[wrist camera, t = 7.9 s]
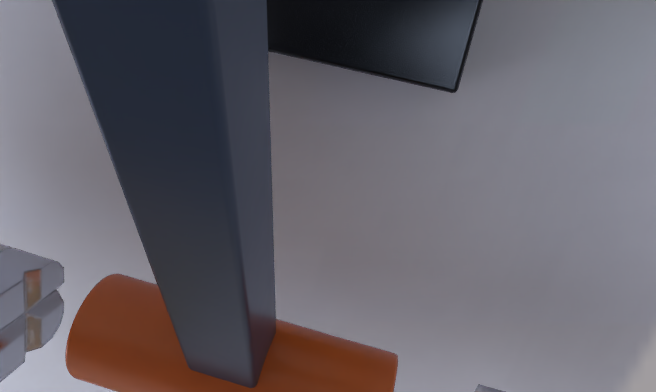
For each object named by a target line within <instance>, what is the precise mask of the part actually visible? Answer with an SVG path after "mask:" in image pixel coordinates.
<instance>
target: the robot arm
mask: <svg viewBox="0 0 656 392" xmlns="http://www.w3.org/2000/svg"><path fill="white" fill-rule="evenodd" d="M63 283H64V267H63V266H62V265H61V264H60V263H59V262H57V261H54V260H51V259H48V258H45V257H42V256H38V255H35V254H32V253H29V252H26V251H23V250H19V249H16V248H12V247H10V246H6V245H3V244H0V382H1V381H2V380H4V379H5V378H6V377H7V376H8V375H10V374H11V373H12V372H13V371H14V370H16V369H17V368H18V367H19V366H20V365H22V364H23V363H24V362H25V354H26V352H28V351H32V350H35V349H38V348H41V347H43V346H44V345H45V344H46V343H47V342H48V341H49V340H50V339H52V337H53V336H54V334H55V333H56V331H57V329H58V328H59V326H60V324H61V321H62V317H63V313H64V301H63V299H62V298H61V296H60V294H59V292H58V291H57V289H58V288H59V287H60V286H61V285H62V284H63ZM474 392H505V391H501V390H498V389H494V388H491V387H487V386H484V385H480V384H478V386H477V388H476V389H475V391H474Z"/></svg>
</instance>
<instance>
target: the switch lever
mask: <svg viewBox="0 0 656 392" xmlns="http://www.w3.org/2000/svg"><path fill="white" fill-rule="evenodd" d="M52 2H53V4H54V7H55V10H56V12H57V15H58V18H59V20H60V23H61V26H62V28H63V31H64V34H65V37H66V39H67V42H68V45H69V47H70V50H71V53H72V55H73V58H74V61H75V63H76V66H77V69H78V72H79V74H80V77H81V80H82V82H83V85H84V88H85V90H86V93H87V96H88V98H89V101H90V104H91V107H92V109H93V112H94V115H95V117H96V120H97V123H98V125H99V128H100V131H101V133H102V136H103V139H104V142H105V144H106V147H107V150H108V152H109V155H110V158H111V160H112V163H113V166H114V169H115V171H116V174H117V177H118V179H119V182H120V185H121V187H122V190H123V193H124V195H125V198H126V201H127V204H128V206H129V209H130V212H131V214H132V217H133V220H134V222H135V225H136V228H137V230H138V233H139V236H140V239H141V241H142V244H143V247H144V249H145V252H146V255H147V257H148V260H149V263H150V265H151V268H152V271H153V274H154V276H155V279H156V282H157V284H158V285H156V284H153V283H149V282H146V281H142V280H139V279H135V278H132V277H129V276H125V275H122V274H112V275H109V276H107V277H105V278H104V279H102V280H101V281H100V282H99V283H97V284H96V285H95V287H94V288H93V289H92V290H91V291H90V293H89V294H88V295H87V297H86V298H85V300H84V301H83V303H82V305H81V306H80V308H79V310H78V312H77V314H76V316H75V319H74V321H73V324H72V326H71V329H70V333H69V336H68V340H67V346H66V366H67V369H68V371H69V373H70V374H71V375H72V376H73V377H74V378H76V379H79V380H82V381H85V382H89V383H92V384H95V385H98V386H101V387H104V388H107V389H111V390H114V391H117V392H393V391H394V386H395V380H396V374H397V367H398V356H397V355H396V354H395V353H391V352H388V351H384V350H381V349H378V348H374V347H371V346H367V345H364V344H360V343H357V342H353V341H350V340H346V339H343V338H339V337H336V336H333V335H329V334H326V333H322V332H319V331H315V330H312V329H308V328H305V327H301V326H298V325H295V324H291V323H288V322H284V321H281V320H277V319H276V310H275V276H274V241H273V206H272V172H271V137H270V102H269V68H268V33H267V0H52Z"/></svg>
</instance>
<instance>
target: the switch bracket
mask: <svg viewBox="0 0 656 392" xmlns="http://www.w3.org/2000/svg"><path fill="white" fill-rule="evenodd" d="M482 2H483V0H267V33H268V51H269V52H274V53H278V54H283V55H287V56H291V57H296V58H300V59H305V60H309V61H313V62H318V63H322V64H327V65H331V66H335V67H340V68H344V69H349V70H353V71H357V72H362V73H366V74H371V75H375V76H380V77H384V78H388V79H393V80H397V81H402V82H406V83H410V84H415V85H419V86H424V87H428V88H432V89H437V90H441V91H446V92H450V93H455V92H456V91H457V90H458V88H459V84H460V80H461V77H462V73H463V70H464V66H465V63H466V59H467V56H468V52H469V48H470V45H471V41H472V38H473V34H474V31H475V27H476V23H477V20H478V16H479V13H480V9H481V6H482Z"/></svg>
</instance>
